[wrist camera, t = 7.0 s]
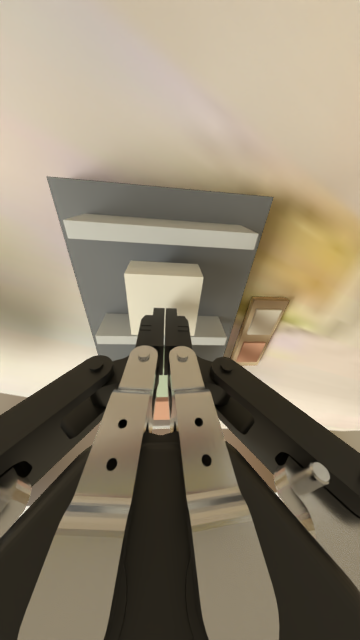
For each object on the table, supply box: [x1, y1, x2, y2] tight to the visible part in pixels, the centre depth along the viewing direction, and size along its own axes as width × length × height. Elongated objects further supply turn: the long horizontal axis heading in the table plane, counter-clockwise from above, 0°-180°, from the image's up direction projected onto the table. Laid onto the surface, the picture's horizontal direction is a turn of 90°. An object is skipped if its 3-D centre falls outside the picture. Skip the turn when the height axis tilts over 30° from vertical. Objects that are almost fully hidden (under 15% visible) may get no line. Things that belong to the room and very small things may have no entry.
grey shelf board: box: [46, 176, 274, 429], centre depth 22 cm, size 32×16×6 cm, turn 176°
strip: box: [230, 297, 289, 365], centre depth 25 cm, size 12×4×1 cm, turn 176°
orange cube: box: [153, 397, 170, 420], centre depth 26 cm, size 5×5×5 cm
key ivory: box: [124, 261, 204, 336], centre depth 15 cm, size 5×5×5 cm
